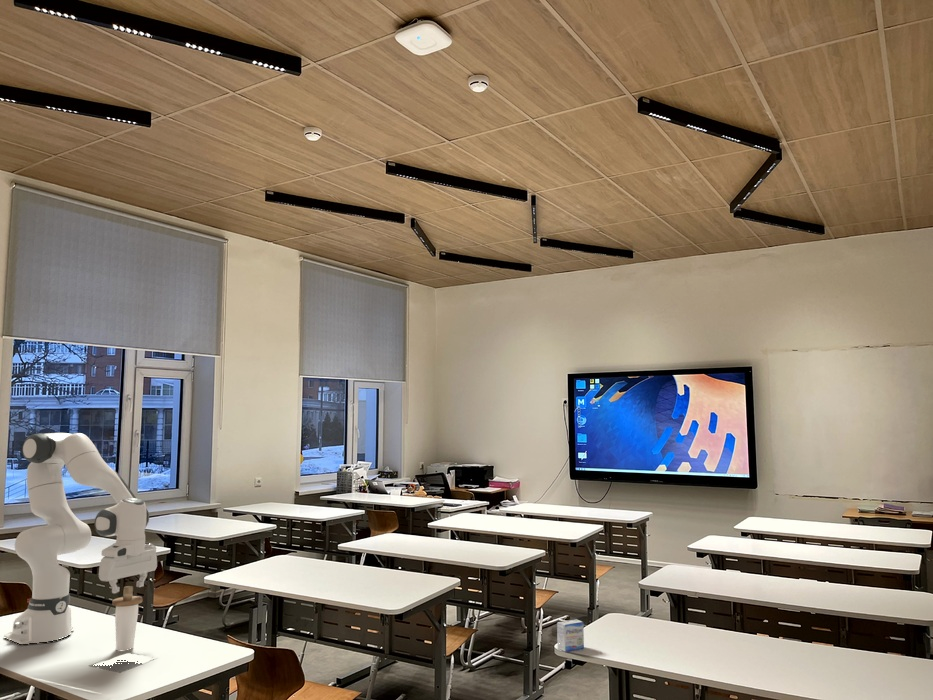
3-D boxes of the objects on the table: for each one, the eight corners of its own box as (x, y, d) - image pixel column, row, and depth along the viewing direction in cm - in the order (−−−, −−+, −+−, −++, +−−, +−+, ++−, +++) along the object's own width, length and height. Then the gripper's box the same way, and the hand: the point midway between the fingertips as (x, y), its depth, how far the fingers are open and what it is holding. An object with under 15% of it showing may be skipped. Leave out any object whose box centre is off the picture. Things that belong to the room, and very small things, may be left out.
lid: (105, 604, 221) (107, 588, 222) (129, 598, 229) (130, 583, 230) (125, 607, 218) (126, 591, 218) (148, 601, 226) (149, 585, 227)
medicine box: (565, 652, 219) (564, 625, 220) (557, 648, 223) (556, 621, 224) (584, 648, 223) (583, 621, 224) (576, 645, 227) (575, 618, 228)
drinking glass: (120, 654, 217) (123, 606, 219) (108, 650, 221) (111, 603, 222) (140, 648, 223) (142, 602, 225) (128, 645, 226) (131, 599, 228)
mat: (88, 667, 206) (88, 665, 206) (127, 653, 218) (127, 652, 218) (120, 673, 200) (120, 672, 200) (158, 659, 213) (158, 657, 213)
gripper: (149, 542, 236) (147, 582, 235) (97, 551, 218) (94, 595, 216) (162, 543, 234) (160, 584, 232) (110, 553, 215) (107, 597, 214)
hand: (128, 589), depth 224 cm, fingers open, 8 cm apart
